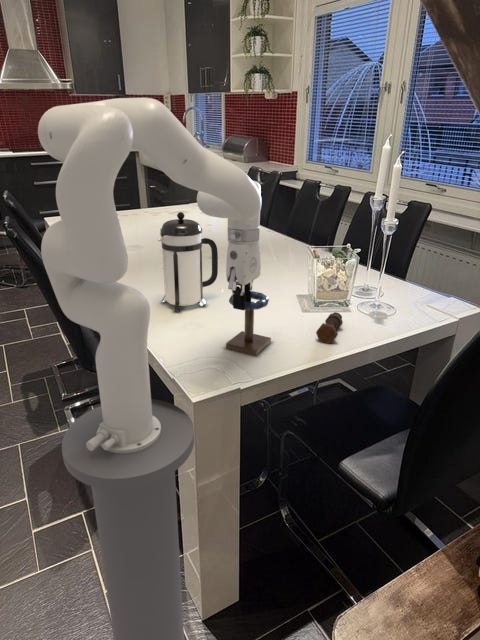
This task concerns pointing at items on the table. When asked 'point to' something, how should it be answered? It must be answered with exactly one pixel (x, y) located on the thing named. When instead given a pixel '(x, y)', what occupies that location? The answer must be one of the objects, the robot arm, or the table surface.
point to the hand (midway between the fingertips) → (242, 306)
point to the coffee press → (185, 262)
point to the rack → (248, 338)
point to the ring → (254, 305)
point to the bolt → (329, 328)
